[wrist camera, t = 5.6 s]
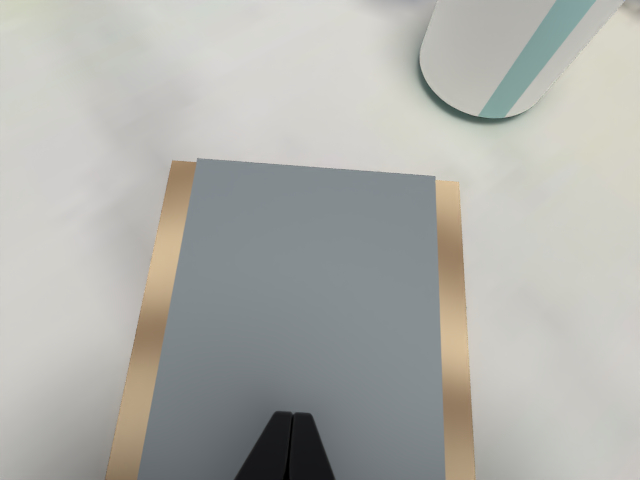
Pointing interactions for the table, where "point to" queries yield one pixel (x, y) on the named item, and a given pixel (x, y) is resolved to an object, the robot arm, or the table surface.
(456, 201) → the wooden board
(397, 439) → the gray rectangular block
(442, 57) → the can
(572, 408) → the table surface
